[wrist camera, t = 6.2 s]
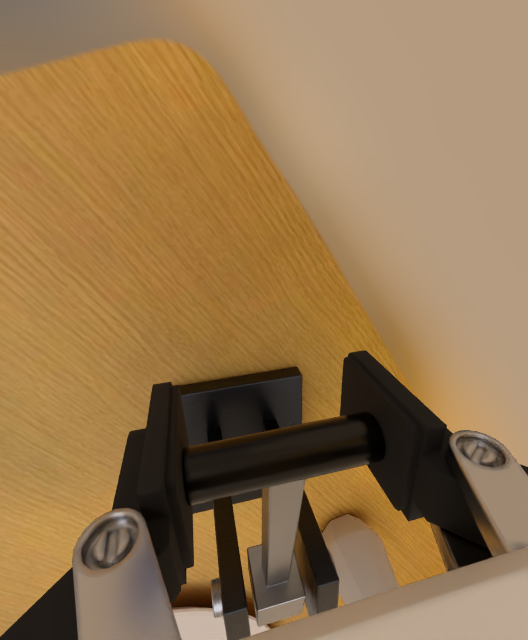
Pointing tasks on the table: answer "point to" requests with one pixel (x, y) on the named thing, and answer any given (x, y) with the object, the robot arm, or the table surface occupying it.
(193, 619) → the plate
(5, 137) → the table surface
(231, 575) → the bracket
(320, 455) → the lever
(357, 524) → the salt shaker
